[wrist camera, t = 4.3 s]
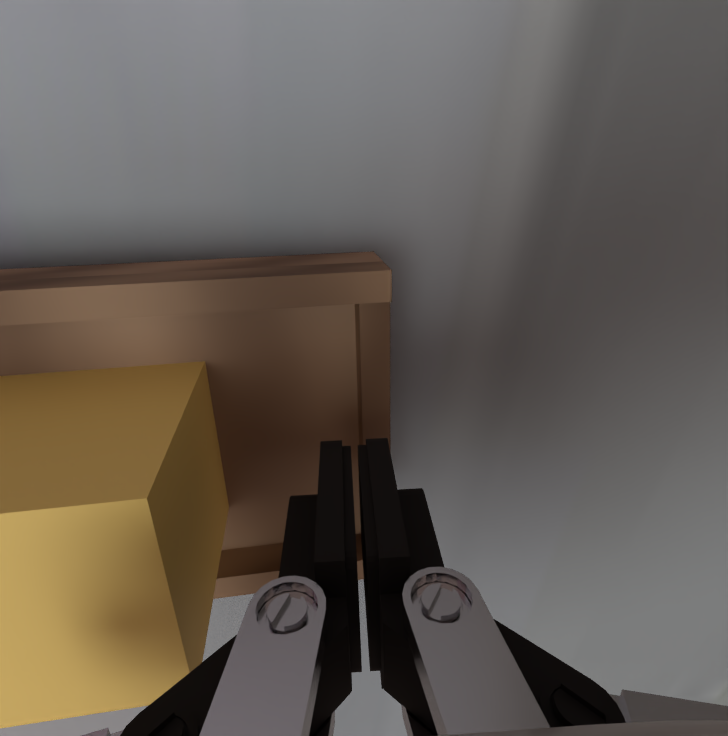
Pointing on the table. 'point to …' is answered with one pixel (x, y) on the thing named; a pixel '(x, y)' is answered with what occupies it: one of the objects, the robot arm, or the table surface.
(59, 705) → the block
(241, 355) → the beam
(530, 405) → the table surface
